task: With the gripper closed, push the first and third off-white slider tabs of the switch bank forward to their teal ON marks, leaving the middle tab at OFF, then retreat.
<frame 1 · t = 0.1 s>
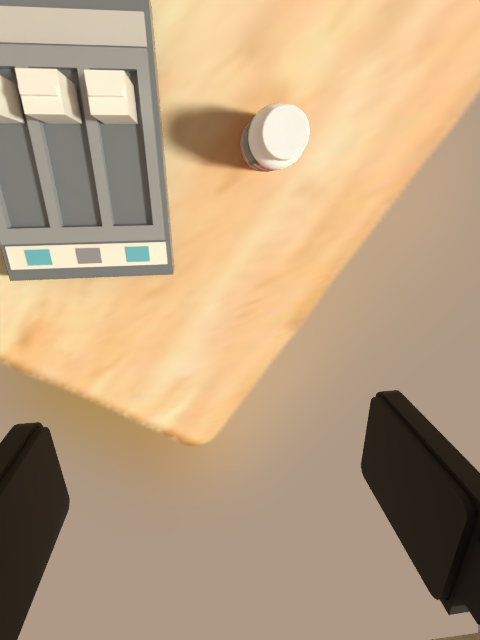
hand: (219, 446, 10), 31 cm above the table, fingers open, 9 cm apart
tab b: (50, 97, 28), point 5 cm above the table, slide at 0.0 cm
pill bottle: (264, 145, 35), on the table
tab c: (112, 98, 28), point 5 cm above the table, slide at 0.0 cm
switch bank: (78, 155, 33), on the table
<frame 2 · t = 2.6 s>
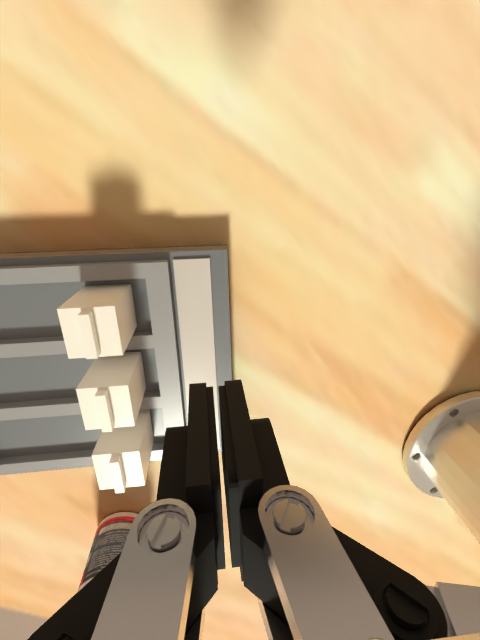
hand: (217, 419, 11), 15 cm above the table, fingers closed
tab b: (114, 390, 22), point 5 cm above the table, slide at 0.0 cm
pill bottle: (125, 527, 33), on the table
tab c: (125, 449, 24), point 5 cm above the table, slide at 0.0 cm
tab a: (100, 320, 20), point 5 cm above the table, slide at 0.0 cm
switch bank: (76, 360, 26), on the table
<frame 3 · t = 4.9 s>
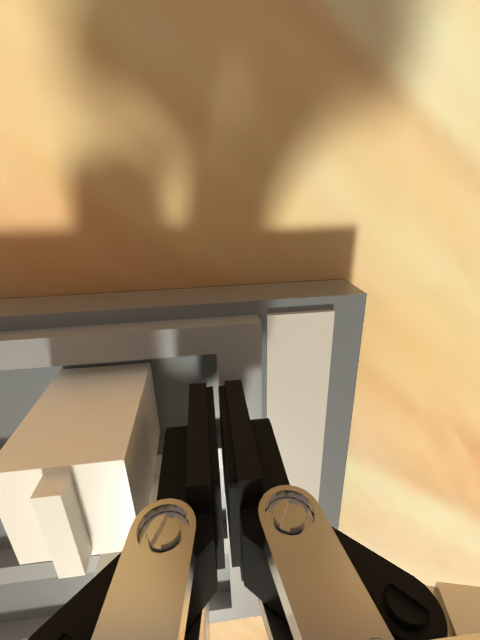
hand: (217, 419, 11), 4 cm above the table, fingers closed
tab b: (156, 560, 12), point 5 cm above the table, slide at 0.0 cm
tab a: (93, 454, 10), point 5 cm above the table, slide at 1.2 cm, touching gripper
switch bank: (80, 469, 16), on the table
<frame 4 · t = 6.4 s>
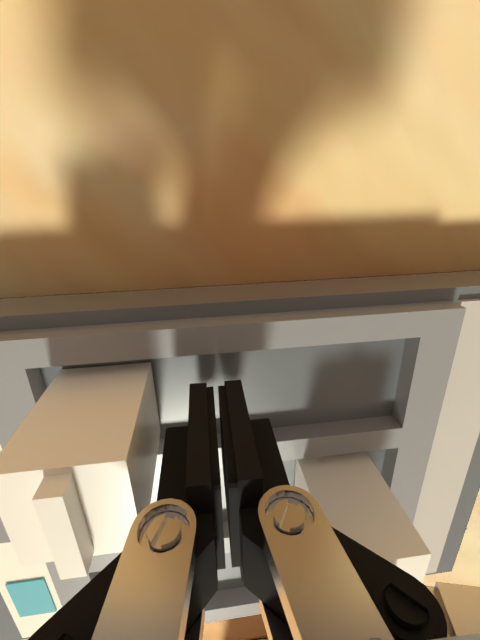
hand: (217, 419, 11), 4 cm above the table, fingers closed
tab b: (352, 532, 12), point 5 cm above the table, slide at 0.0 cm
tab a: (93, 454, 10), point 5 cm above the table, slide at 8.4 cm, touching gripper
switch bank: (233, 452, 16), on the table
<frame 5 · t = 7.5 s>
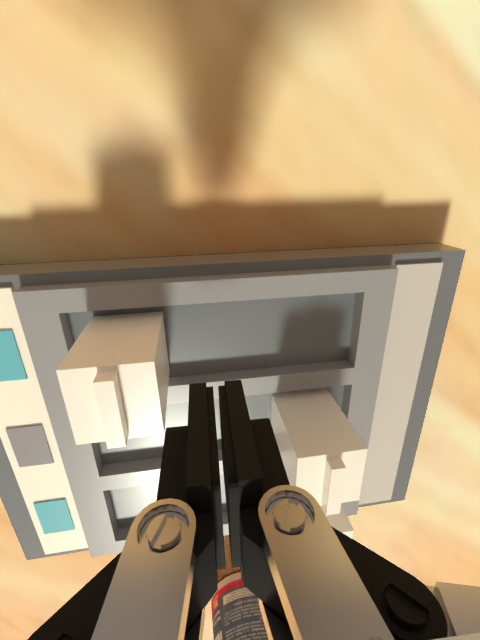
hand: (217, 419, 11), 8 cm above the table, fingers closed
tab b: (313, 446, 16), point 5 cm above the table, slide at 0.0 cm
pill bottle: (242, 586, 27), on the table
tab c: (307, 518, 18), point 5 cm above the table, slide at 0.0 cm
tab a: (123, 373, 13), point 5 cm above the table, slide at 8.1 cm
switch bank: (221, 397, 20), on the table
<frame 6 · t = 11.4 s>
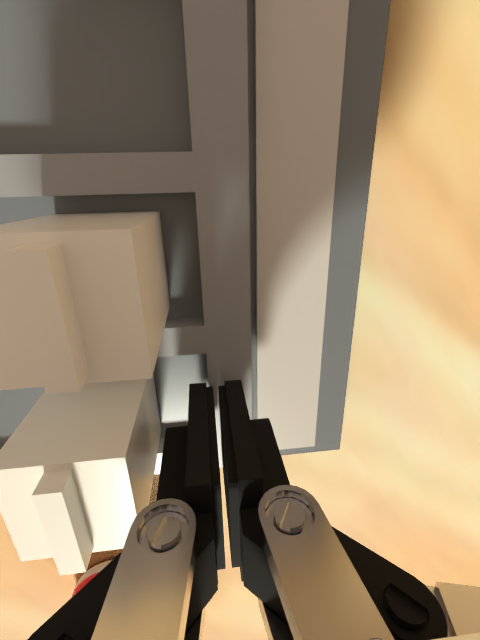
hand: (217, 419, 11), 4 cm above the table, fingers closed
tab b: (91, 286, 8), point 5 cm above the table, slide at 0.0 cm
pill bottle: (125, 581, 19), on the table
tab c: (94, 452, 10), point 5 cm above the table, slide at 0.8 cm, touching gripper
switch bank: (13, 255, 12), on the table
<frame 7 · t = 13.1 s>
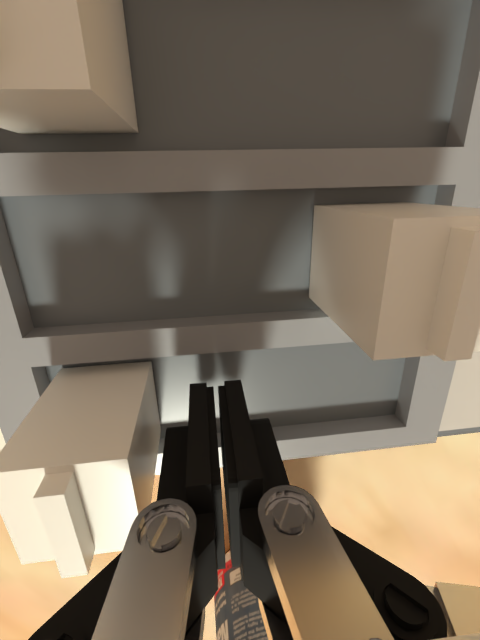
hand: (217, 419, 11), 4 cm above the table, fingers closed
tab b: (398, 269, 9), point 5 cm above the table, slide at 0.0 cm
pill bottle: (256, 562, 20), on the table
tab c: (94, 453, 10), point 5 cm above the table, slide at 8.6 cm, touching gripper
tab a: (18, 18, 6), point 5 cm above the table, slide at 8.1 cm
switch bank: (229, 245, 13), on the table
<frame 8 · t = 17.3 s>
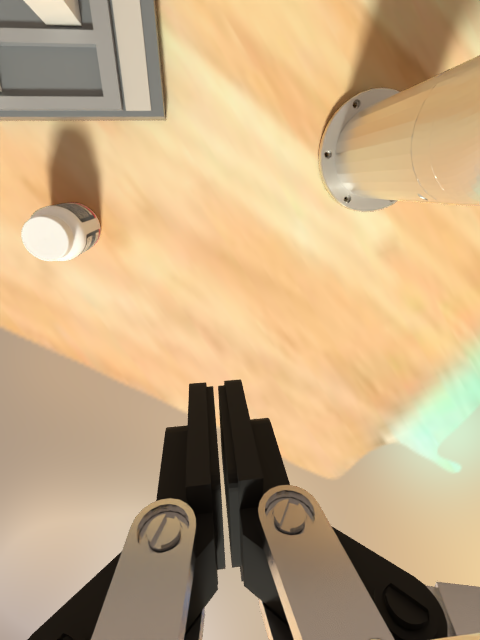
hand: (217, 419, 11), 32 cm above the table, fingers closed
pill bottle: (78, 226, 38), on the table
switch bank: (23, 13, 31), on the table
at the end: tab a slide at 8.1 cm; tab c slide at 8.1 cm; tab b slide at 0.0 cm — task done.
